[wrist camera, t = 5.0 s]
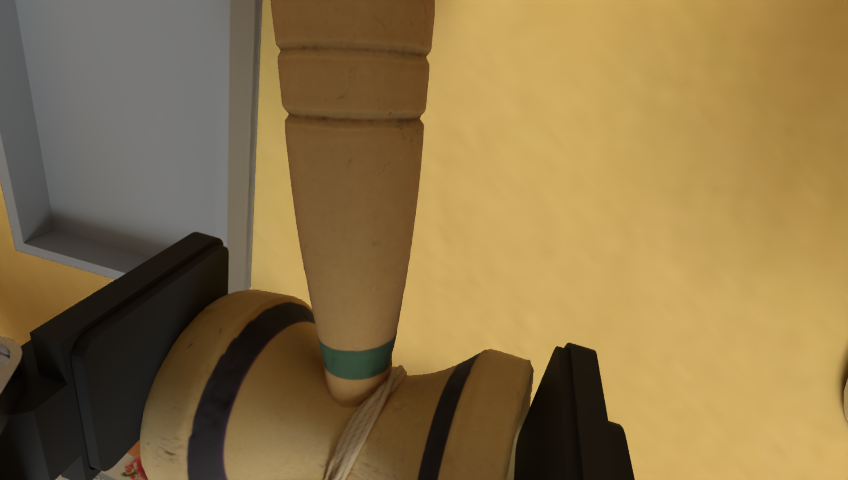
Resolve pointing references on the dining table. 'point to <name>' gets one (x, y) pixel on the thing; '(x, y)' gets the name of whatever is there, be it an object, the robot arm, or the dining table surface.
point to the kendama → (336, 293)
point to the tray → (129, 128)
